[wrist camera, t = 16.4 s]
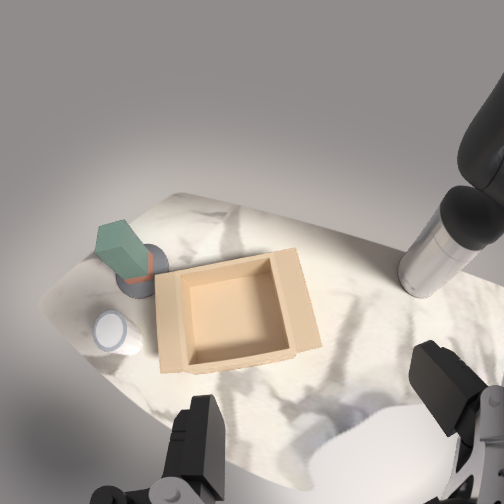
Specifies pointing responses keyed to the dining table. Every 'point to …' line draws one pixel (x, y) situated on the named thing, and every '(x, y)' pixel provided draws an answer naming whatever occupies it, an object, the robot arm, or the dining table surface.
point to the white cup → (117, 334)
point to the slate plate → (148, 286)
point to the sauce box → (124, 252)
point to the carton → (234, 314)
